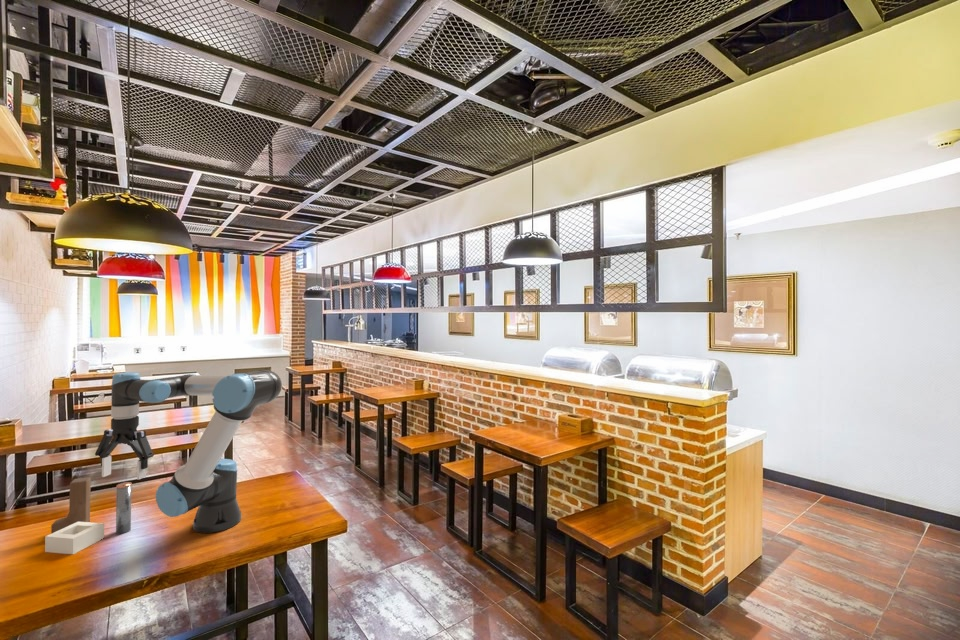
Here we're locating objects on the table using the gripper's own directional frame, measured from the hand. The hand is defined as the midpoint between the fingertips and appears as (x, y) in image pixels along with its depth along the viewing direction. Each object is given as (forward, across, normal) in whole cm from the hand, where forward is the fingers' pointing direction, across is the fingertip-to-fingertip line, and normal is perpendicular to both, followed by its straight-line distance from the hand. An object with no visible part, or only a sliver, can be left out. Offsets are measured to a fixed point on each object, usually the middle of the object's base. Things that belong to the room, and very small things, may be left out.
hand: (123, 476), depth 148 cm
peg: (+19, 0, 0) cm, 19 cm away
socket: (+19, +7, +10) cm, 23 cm away
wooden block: (+20, +17, +3) cm, 26 cm away
